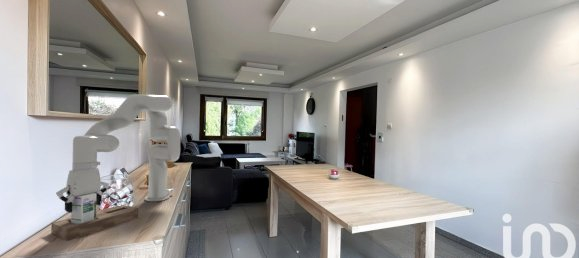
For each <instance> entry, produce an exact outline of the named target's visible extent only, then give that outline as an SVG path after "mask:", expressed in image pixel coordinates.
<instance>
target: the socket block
mask: <svg viewBox="0 0 579 258" xmlns="http://www.w3.org/2000/svg"><path fill="white" fill-rule="evenodd" d="M120 205H121V206H118V205H115V206H116V207H114V206H110V207H111V208H110V207H109V208H108V207H107V208H103V209H100V210H99V209H98V210H96V219H95V220H92V221H88V222H85V223H81V224H78V225H76V224H73V223H71V217H69V218H65V219H61V220H57V221H54V222H51V230H50V231H51V234H53V235H54V236H56V237H58V238H60V239H63V240H65V241H70V240H72V239H76V238H79V237H82V236H85V235H88V234H91V233H94V232H98V231H100V230H104V229H107V228H109V227H113V226H116V225H119V224H122V223H125V222H127V221H128V222H129V221H131V220H133V219H137V218H139V216H138V215H139V208H136V207H133V206H130V205H126V204H123V205H122V204H120Z"/></svg>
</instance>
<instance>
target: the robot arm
mask: <svg viewBox="0 0 579 258" xmlns="http://www.w3.org/2000/svg"><path fill="white" fill-rule="evenodd" d="M172 107H173V101H172V98H170V97H169V96H167V95H157V94H156V95H155V94H139V93H137V94H136V93H134V94H130V95H128V96H127V98H125V100H124V101H123V102H122V103H121V104H120V105H119V106H118V107H117V109H116V110H115V111H114V112H113V113H112V114H110V115H109V116H106V117H104V118H103V119H101V120H99V121H98V122H96V123H95V124H93V125H92V126H91V127H90V128H89V129H88V130H87V131H86V132H85V133H84V135H76V136H74V137H73V139H72V167H71V168H72V169H70V170H69V171H68V175H67V180H66V186H65V187H64V188H62V189H60V190H58V191H56V193H55V194H56V197H58V199H60V200H61V201H62V202H64V211H65V212H66V213H69V214H71V212H72V202H71V200H72V199H73V198H74V197H75V196H81V195H85V194H90V193H96V206H101V203H102V198H103V195H104V193H105V192H106V191H107V189H108V187H109V182H104V181H102V180H101V174H100V169H99V167H98V166H100V165H101V162H100V161H98V153H111V152H114V151H116V150H117V149H118V148H119V146H120V140H119V139H118V138H117V137H116V136H115V135H111V134H110V133H112V132H114V131H116V130H119V129H120V130H121V129H124V128H127V127H130V126H131V125H132V124H133V123H134V121H135V120H136V119H137V117H138V116H139V114H140V113H141V112H146V113H147V114H148V116H149V121H150V122H149V124H150V126H149V127H150V129H149V130H150V132H149V133H150V140H151V141H153V142H156V143H155V144H152V145H150V146H149V147H148V149H147V153H146V154H147V158H148V191H147V195H146V196H145V197H144V200H145V201H147V202H161V201H165V200H168V199H169V198H170V197H171V195H170V193H174V191H175V189H174V188H170V189H169V188H168V169H169V168H168V165H167V162H176V161H178V160H179V159H180V156H181V132H180V130H179V128H178V127H176V126H171V125H168V119H167V115H166V112H168V111H169V110H171V109H172ZM159 143H160V144H159ZM161 143H162V144H161ZM163 143H165V144H163ZM101 186H102V188H101ZM65 193H66V196H64V194H65Z"/></svg>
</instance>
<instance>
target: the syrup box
mask: <svg viewBox="0 0 579 258" xmlns="http://www.w3.org/2000/svg"><path fill="white" fill-rule="evenodd" d="M71 202H72V212H71V213H70V218H71V223H73V224H76V225H78V224H81V223H85V222H88V221H92V220H95V219H96V211H97V205H96V193H90V194H85V195H81V196H75V197H74V198H73V199H72V200H71Z"/></svg>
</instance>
